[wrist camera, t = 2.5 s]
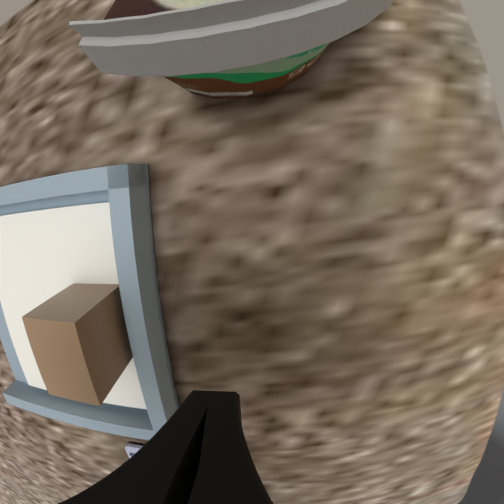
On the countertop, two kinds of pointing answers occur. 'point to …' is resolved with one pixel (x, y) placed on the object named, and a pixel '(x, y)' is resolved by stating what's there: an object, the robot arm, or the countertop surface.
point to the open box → (131, 290)
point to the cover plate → (52, 271)
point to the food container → (221, 40)
